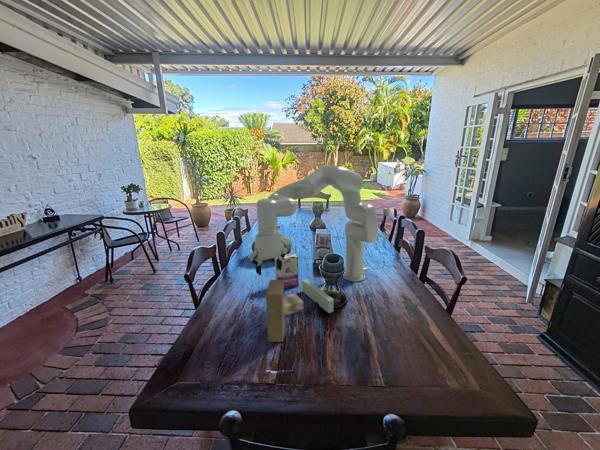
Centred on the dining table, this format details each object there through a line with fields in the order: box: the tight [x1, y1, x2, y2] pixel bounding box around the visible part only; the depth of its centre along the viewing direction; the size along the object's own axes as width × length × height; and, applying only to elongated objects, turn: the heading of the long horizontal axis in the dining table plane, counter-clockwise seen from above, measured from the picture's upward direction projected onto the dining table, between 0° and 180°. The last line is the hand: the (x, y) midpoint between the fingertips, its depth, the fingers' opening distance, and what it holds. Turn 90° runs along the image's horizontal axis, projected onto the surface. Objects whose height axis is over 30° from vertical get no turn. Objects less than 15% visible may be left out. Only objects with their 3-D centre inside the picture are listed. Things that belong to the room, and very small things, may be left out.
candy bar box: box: [274, 253, 299, 289], centre depth 141 cm, size 11×5×16 cm, turn 105°
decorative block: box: [265, 279, 286, 343], centre depth 105 cm, size 11×6×20 cm, turn 178°
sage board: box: [301, 278, 335, 314], centre depth 129 cm, size 2×22×6 cm, turn 31°
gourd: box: [251, 232, 293, 262], centre depth 176 cm, size 25×25×17 cm
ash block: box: [283, 292, 305, 317], centre depth 123 cm, size 9×8×4 cm
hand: (269, 271), depth 114 cm, fingers open, 8 cm apart
